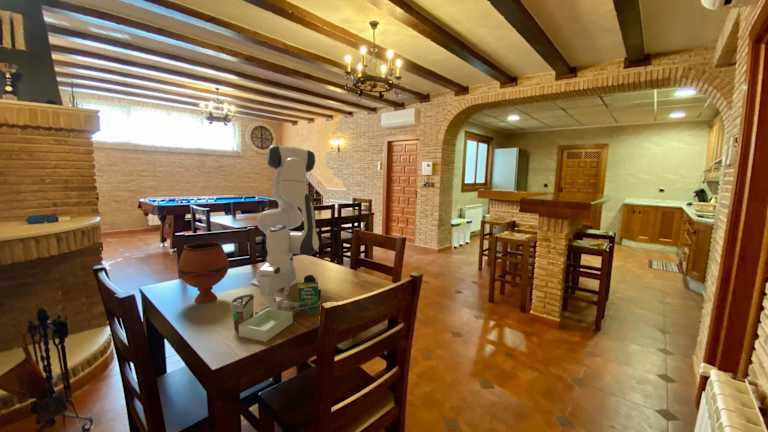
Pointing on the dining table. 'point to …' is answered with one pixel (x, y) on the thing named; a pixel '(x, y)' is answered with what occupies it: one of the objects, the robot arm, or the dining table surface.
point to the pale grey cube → (286, 307)
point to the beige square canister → (313, 279)
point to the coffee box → (308, 298)
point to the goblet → (203, 268)
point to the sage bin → (265, 324)
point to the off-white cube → (276, 303)
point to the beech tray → (283, 302)
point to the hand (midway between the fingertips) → (279, 298)
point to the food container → (242, 309)
